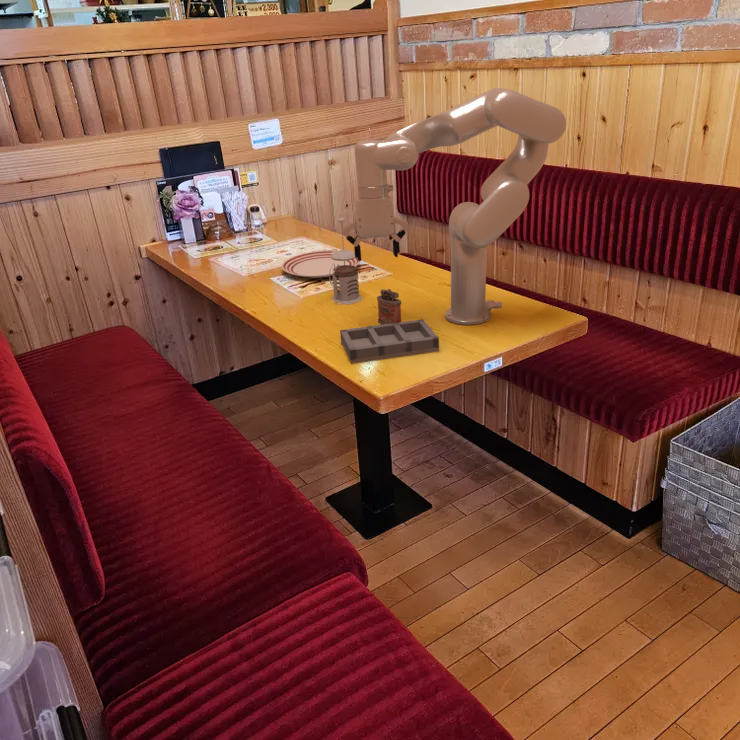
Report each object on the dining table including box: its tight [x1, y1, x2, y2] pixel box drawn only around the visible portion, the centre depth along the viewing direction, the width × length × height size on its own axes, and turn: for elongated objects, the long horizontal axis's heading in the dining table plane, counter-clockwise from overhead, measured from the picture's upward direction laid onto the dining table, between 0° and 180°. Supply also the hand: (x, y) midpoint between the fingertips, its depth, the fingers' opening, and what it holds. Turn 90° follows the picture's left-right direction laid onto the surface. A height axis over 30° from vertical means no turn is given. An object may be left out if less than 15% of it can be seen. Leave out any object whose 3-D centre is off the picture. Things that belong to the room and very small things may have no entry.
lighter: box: [376, 288, 402, 325], centre depth 183 cm, size 8×3×10 cm, turn 45°
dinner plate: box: [281, 250, 361, 279], centre depth 233 cm, size 27×27×3 cm
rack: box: [339, 318, 440, 364], centre depth 171 cm, size 22×14×4 cm, turn 103°
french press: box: [328, 217, 363, 305], centre depth 200 cm, size 10×12×25 cm
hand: (377, 257), depth 176 cm, fingers open, 9 cm apart
